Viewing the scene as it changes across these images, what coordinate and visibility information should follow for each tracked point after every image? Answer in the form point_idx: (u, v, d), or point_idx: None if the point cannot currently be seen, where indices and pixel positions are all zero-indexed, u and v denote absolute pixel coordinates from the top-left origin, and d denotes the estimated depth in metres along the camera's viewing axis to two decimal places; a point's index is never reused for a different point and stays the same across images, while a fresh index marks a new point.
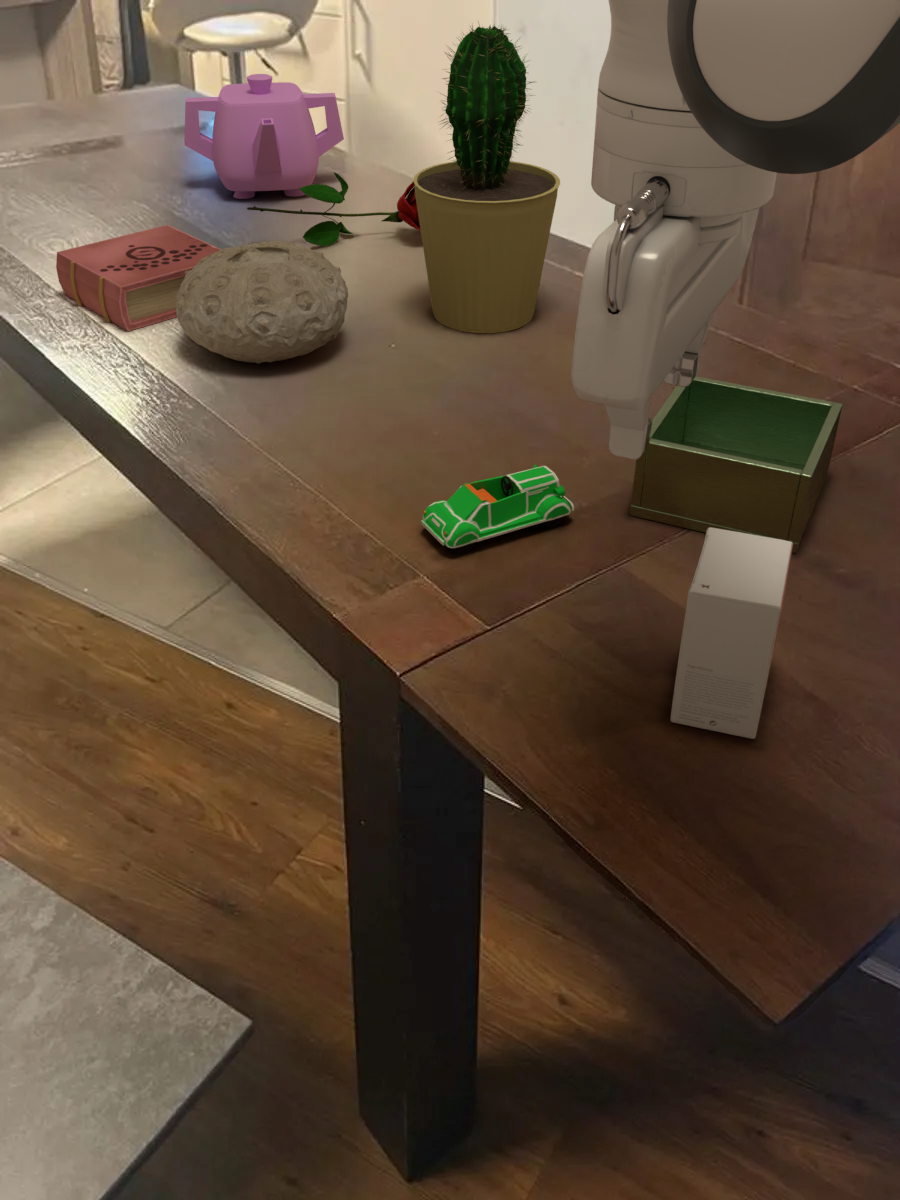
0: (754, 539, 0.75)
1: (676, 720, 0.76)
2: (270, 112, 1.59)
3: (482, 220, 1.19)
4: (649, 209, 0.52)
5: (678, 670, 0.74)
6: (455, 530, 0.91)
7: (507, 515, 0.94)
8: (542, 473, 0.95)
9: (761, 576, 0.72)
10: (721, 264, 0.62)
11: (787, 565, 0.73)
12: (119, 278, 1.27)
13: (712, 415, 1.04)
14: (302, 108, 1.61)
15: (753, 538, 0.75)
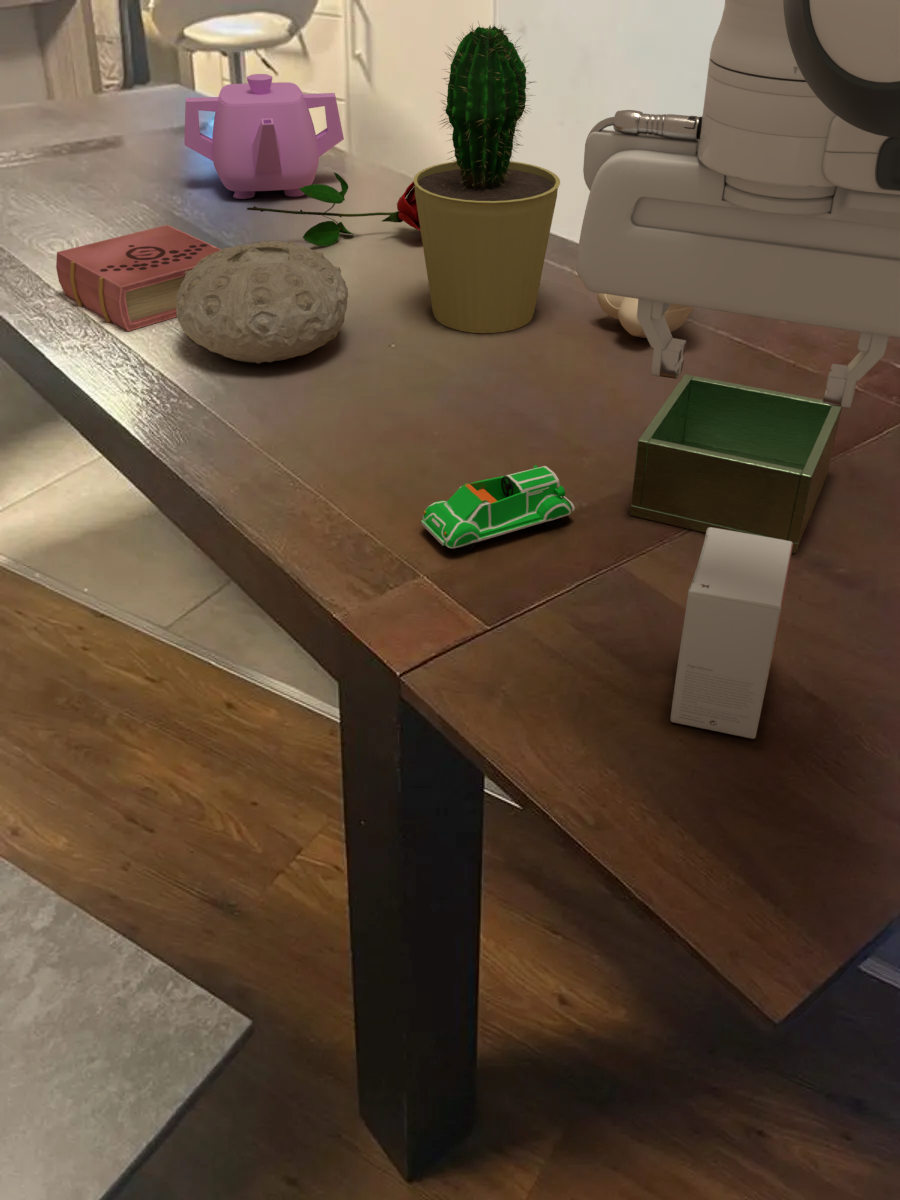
0: (754, 539, 0.75)
1: (676, 720, 0.76)
2: (270, 112, 1.59)
3: (482, 220, 1.19)
4: (646, 126, 0.60)
5: (678, 670, 0.74)
6: (455, 530, 0.91)
7: (507, 515, 0.94)
8: (542, 473, 0.95)
9: (761, 576, 0.72)
10: (833, 272, 0.59)
11: (787, 565, 0.73)
12: (119, 278, 1.27)
13: (712, 415, 1.04)
14: (302, 108, 1.61)
15: (753, 537, 0.75)
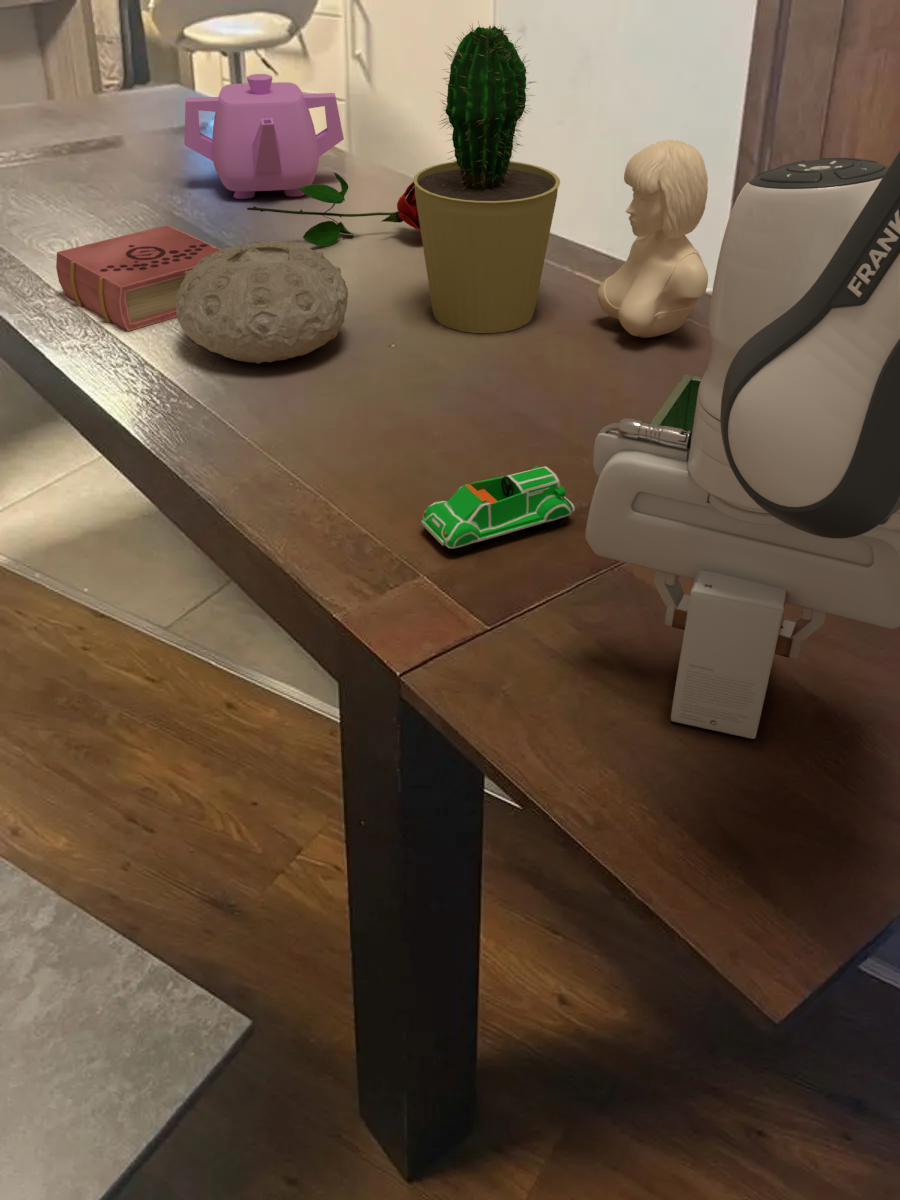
0: None
1: (677, 719, 0.76)
2: (270, 111, 1.59)
3: (482, 220, 1.19)
4: (645, 435, 0.71)
5: (679, 669, 0.74)
6: (455, 530, 0.91)
7: (507, 516, 0.93)
8: (543, 474, 0.95)
9: None
10: (800, 566, 0.69)
11: None
12: (119, 278, 1.27)
13: None
14: (302, 108, 1.61)
15: None
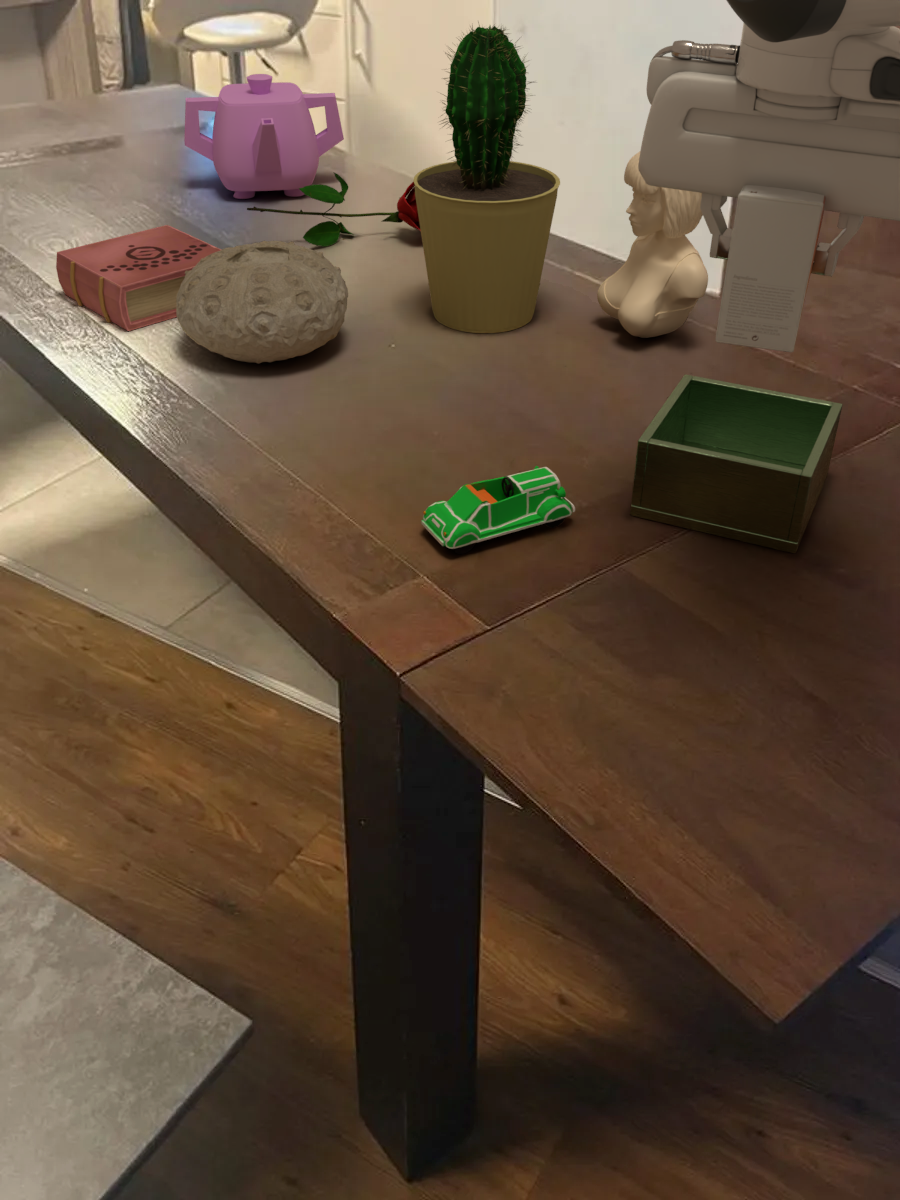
0: None
1: (721, 339, 0.83)
2: (270, 111, 1.59)
3: (482, 220, 1.19)
4: (696, 52, 0.78)
5: (725, 283, 0.81)
6: (455, 531, 0.91)
7: (507, 516, 0.93)
8: (543, 474, 0.95)
9: None
10: (838, 167, 0.76)
11: None
12: (119, 278, 1.27)
13: (712, 415, 1.04)
14: (302, 108, 1.61)
15: None
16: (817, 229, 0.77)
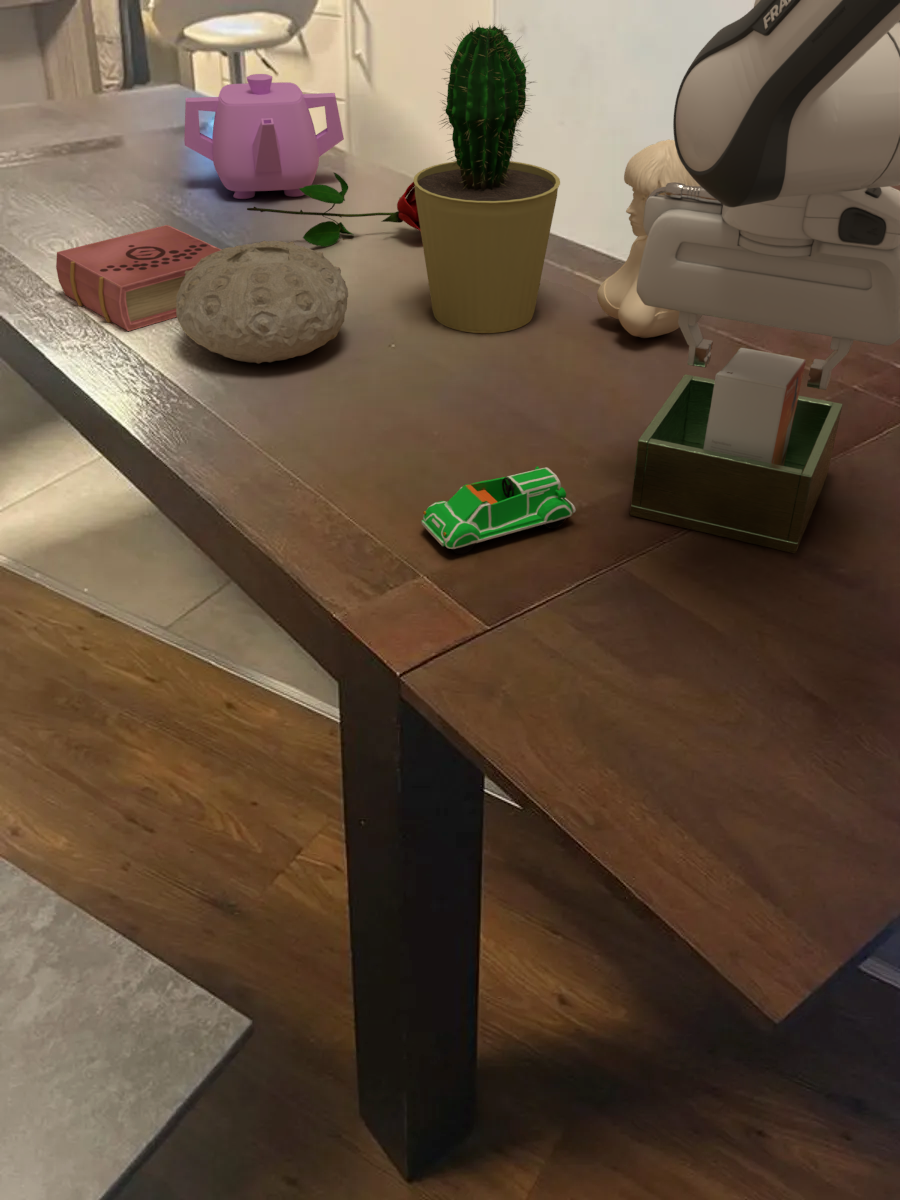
0: (775, 355, 0.96)
1: None
2: (270, 112, 1.59)
3: (482, 220, 1.19)
4: (687, 193, 0.87)
5: (704, 446, 0.94)
6: (454, 531, 0.91)
7: (507, 516, 0.93)
8: (543, 475, 0.95)
9: (775, 371, 0.92)
10: (813, 295, 0.86)
11: (797, 369, 0.93)
12: (119, 278, 1.27)
13: None
14: (302, 108, 1.61)
15: (774, 354, 0.96)
16: (781, 407, 0.90)
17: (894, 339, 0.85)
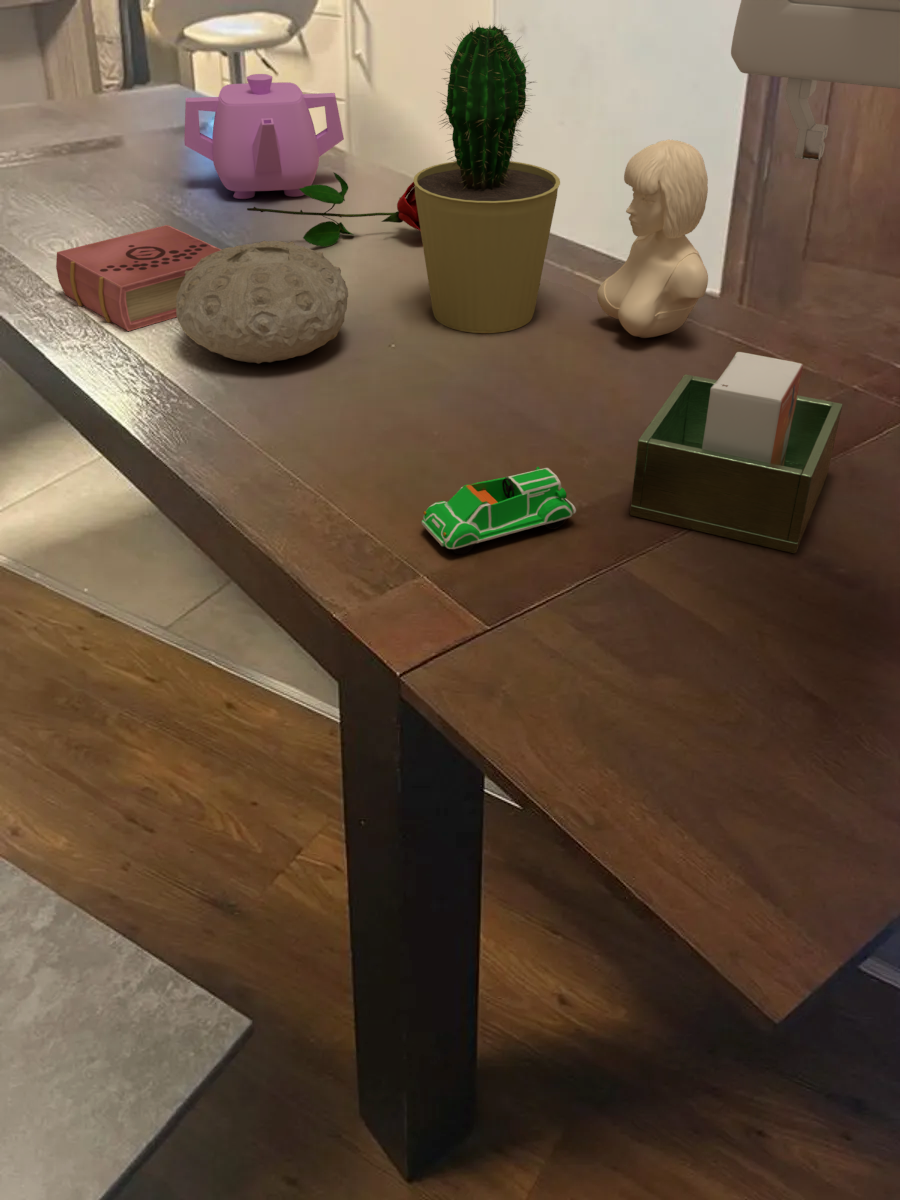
0: (772, 360, 0.95)
1: None
2: (270, 112, 1.59)
3: (482, 220, 1.19)
4: None
5: None
6: (454, 531, 0.91)
7: (507, 517, 0.93)
8: (544, 475, 0.95)
9: (770, 382, 0.92)
10: None
11: (794, 377, 0.93)
12: (119, 278, 1.27)
13: None
14: (302, 108, 1.61)
15: (771, 359, 0.95)
16: (777, 420, 0.90)
17: None
